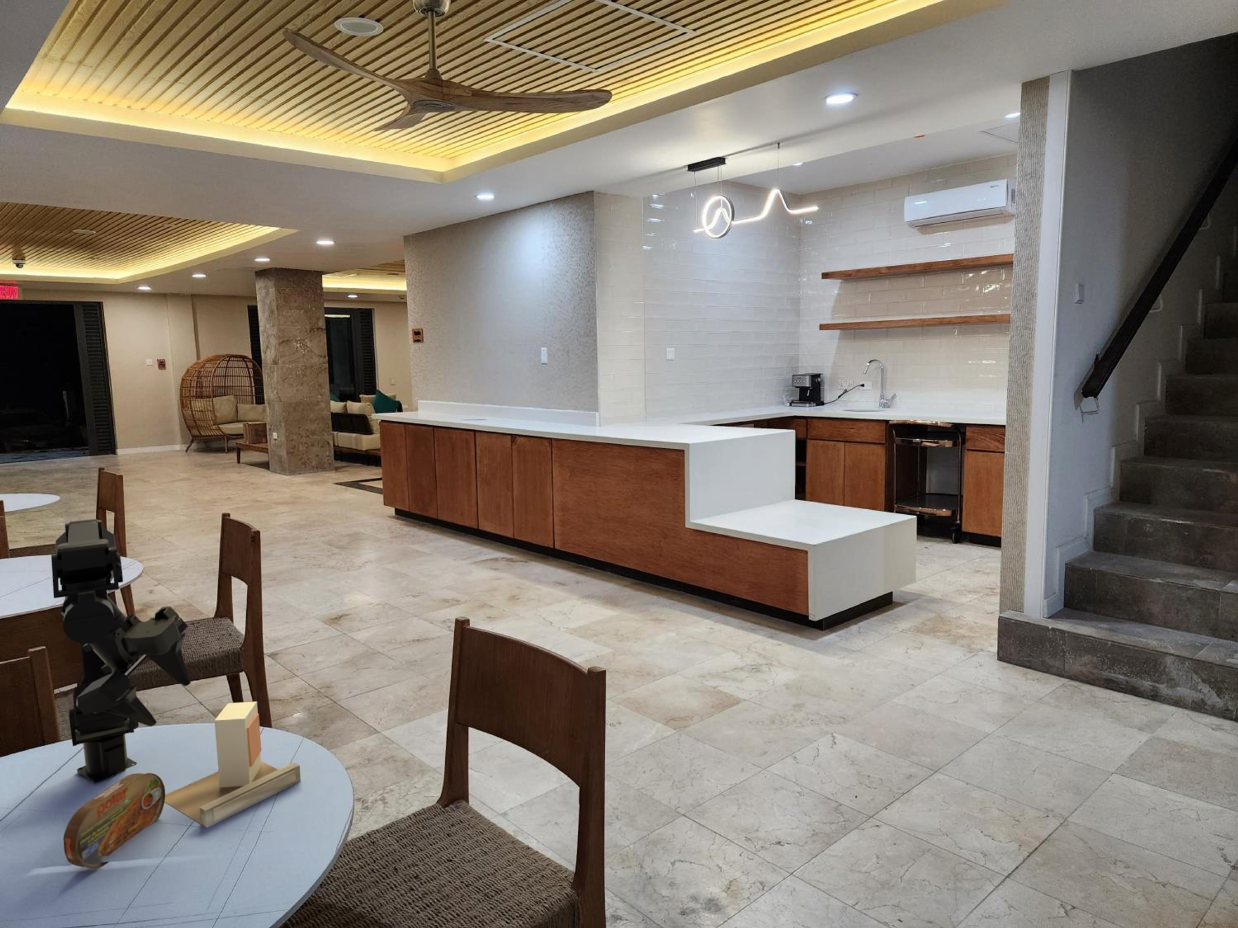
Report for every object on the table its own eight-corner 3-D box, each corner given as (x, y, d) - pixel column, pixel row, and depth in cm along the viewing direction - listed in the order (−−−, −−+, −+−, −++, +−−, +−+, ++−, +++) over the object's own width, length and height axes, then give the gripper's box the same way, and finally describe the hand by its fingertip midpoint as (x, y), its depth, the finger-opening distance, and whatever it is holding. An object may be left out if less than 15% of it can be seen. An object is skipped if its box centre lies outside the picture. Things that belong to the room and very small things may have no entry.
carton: (219, 787, 124) (214, 720, 122) (232, 767, 130) (228, 703, 128) (251, 784, 124) (246, 718, 123) (263, 765, 130) (258, 701, 129)
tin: (82, 882, 103) (75, 821, 102) (61, 879, 103) (55, 819, 102) (169, 815, 117) (164, 762, 116) (151, 813, 118) (146, 760, 117)
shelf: (158, 801, 121) (157, 781, 121) (251, 759, 133) (250, 741, 133) (208, 832, 113) (206, 811, 113) (302, 784, 126) (300, 765, 125)
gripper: (103, 642, 106) (178, 728, 110) (181, 571, 123) (243, 648, 128) (41, 672, 108) (117, 754, 113) (126, 598, 125) (189, 672, 130)
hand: (171, 703), depth 121 cm, fingers open, 9 cm apart
